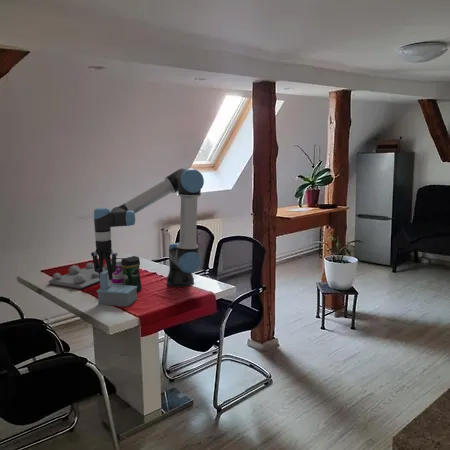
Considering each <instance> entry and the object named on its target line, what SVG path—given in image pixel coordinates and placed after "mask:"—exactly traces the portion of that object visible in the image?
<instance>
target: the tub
mask: <svg viewBox="0 0 450 450" xmlns="http://www.w3.org/2000/svg"><path fill="white" fill-rule="evenodd" d="M137 301H138V291H137V288H136V289H135V290H134V291H132V292H131V293H129V294H128V295H127V294H114V293H101V292H97V304H98V305H101V306H102V305H105V306H117V307H126V306H127V307H128V306H129V307H131V305H133V304H134V303H135V302H137ZM133 302H134V303H133Z"/></svg>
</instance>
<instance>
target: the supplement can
mask: <svg viewBox="0 0 450 450" xmlns="http://www.w3.org/2000/svg"><path fill="white" fill-rule="evenodd" d="M122 259H123V258H116V271H115V272H114V273H112V276H113V279H112V285H123V268H122V266H121V260H122ZM110 261H111V266H112V260H110Z"/></svg>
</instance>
